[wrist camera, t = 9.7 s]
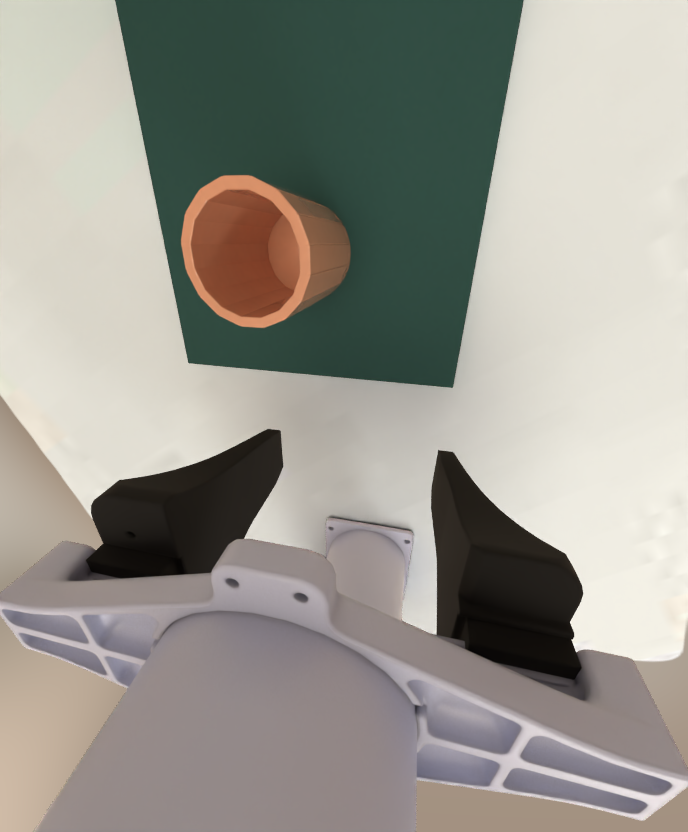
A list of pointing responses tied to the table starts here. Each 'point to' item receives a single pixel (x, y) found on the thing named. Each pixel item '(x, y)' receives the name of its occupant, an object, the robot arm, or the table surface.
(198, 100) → the mat
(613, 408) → the table surface
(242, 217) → the brown cup
